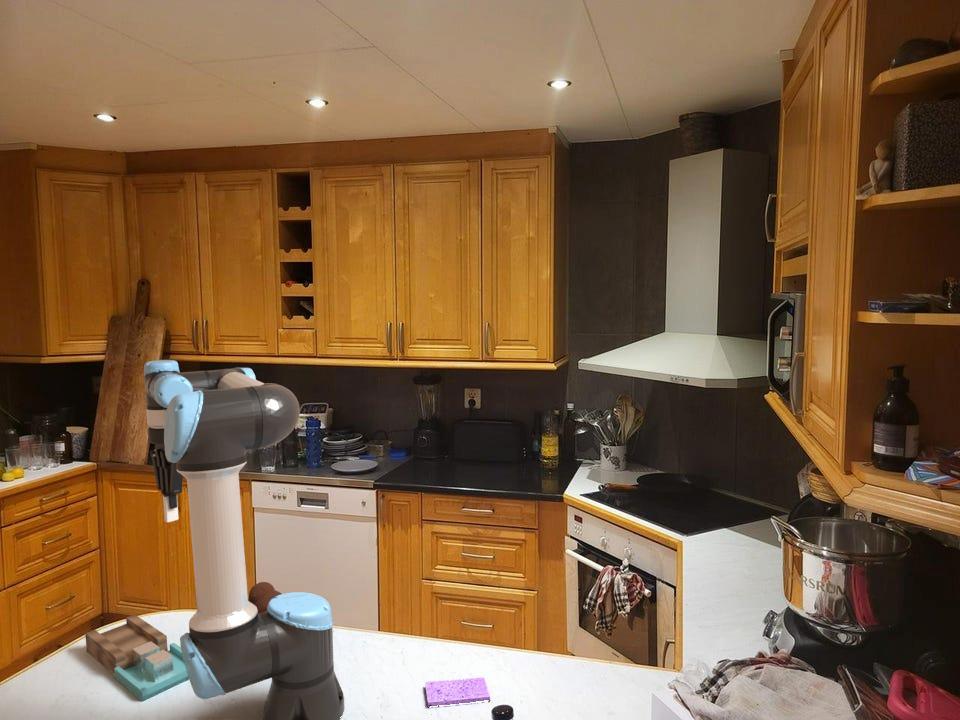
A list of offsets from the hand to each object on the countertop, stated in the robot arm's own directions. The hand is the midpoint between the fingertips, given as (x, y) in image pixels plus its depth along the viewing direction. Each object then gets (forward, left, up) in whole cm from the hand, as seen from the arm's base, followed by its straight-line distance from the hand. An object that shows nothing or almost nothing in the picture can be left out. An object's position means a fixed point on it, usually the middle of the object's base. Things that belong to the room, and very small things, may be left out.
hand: (171, 520), depth 163 cm
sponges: (-73, -21, -27) cm, 81 cm away
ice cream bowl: (-27, -7, -27) cm, 39 cm away
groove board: (-4, +14, -26) cm, 30 cm away
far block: (-14, +14, -26) cm, 32 cm away
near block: (-18, +14, -24) cm, 33 cm away
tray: (-19, +14, -26) cm, 35 cm away
